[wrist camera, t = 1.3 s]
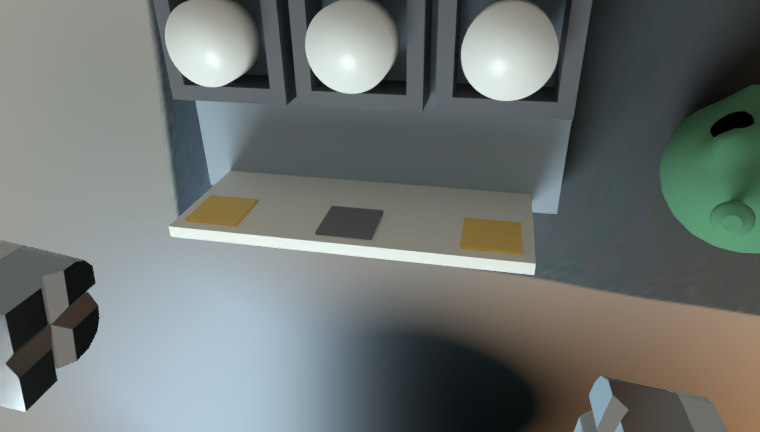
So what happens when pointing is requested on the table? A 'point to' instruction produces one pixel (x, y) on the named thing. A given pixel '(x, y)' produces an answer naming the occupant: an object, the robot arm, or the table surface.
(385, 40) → the middle button
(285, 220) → the pattern card
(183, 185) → the table surface
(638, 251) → the table surface
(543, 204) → the button board
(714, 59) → the table surface
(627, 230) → the table surface
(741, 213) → the alien toy
